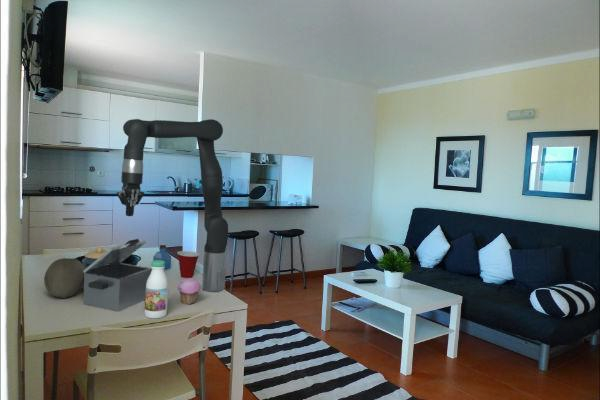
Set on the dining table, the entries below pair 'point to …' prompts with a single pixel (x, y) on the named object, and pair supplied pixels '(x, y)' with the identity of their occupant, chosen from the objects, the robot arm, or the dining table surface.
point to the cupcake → (189, 290)
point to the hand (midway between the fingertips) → (129, 215)
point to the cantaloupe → (64, 277)
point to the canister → (92, 258)
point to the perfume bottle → (163, 256)
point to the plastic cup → (187, 263)
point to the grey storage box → (116, 286)
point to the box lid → (115, 255)
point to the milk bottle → (156, 291)
